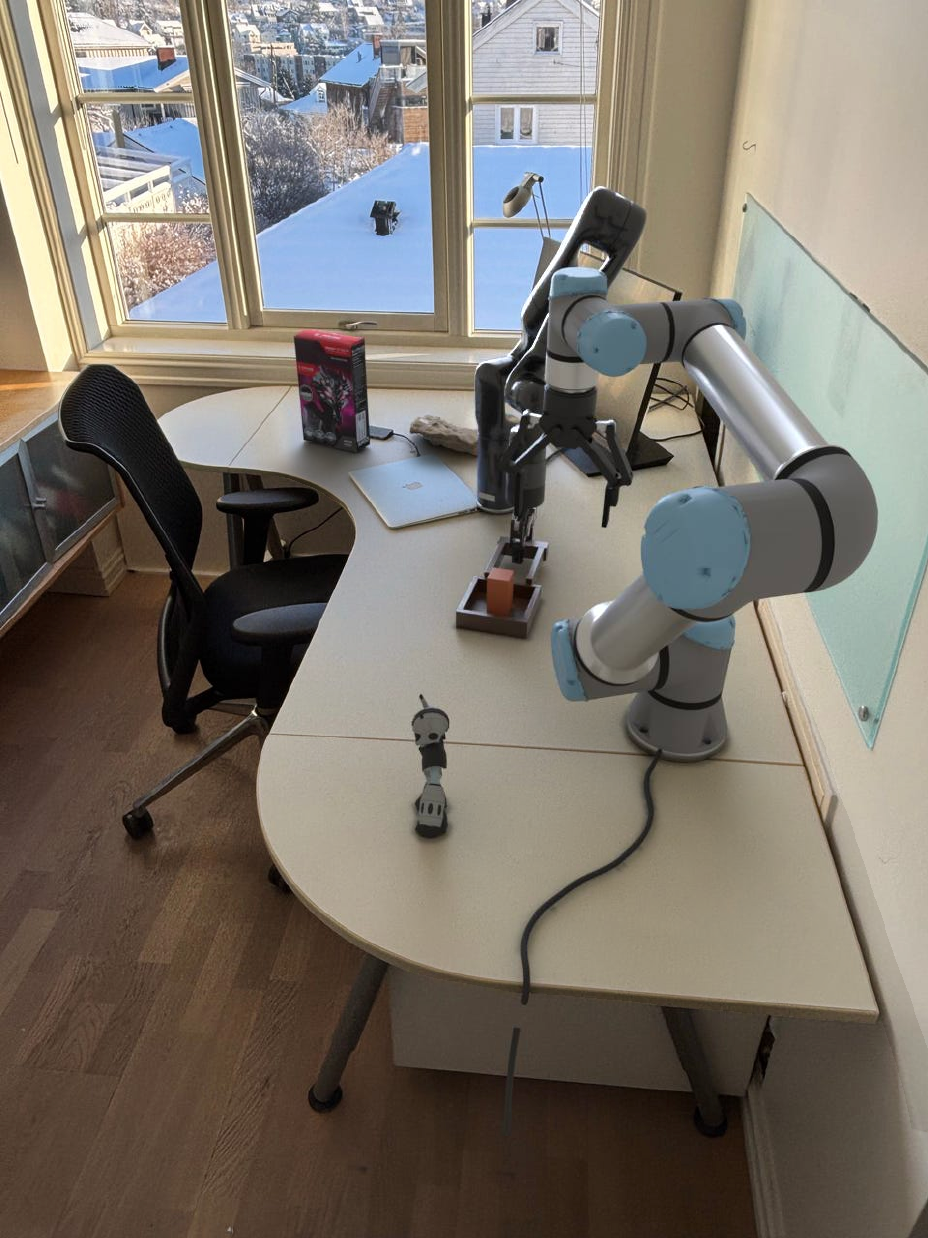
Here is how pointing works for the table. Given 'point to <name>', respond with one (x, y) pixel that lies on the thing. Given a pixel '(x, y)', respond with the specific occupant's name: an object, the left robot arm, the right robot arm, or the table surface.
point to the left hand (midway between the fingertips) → (522, 552)
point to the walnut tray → (524, 595)
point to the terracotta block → (500, 591)
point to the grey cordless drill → (431, 769)
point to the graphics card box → (333, 389)
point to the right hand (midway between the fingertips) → (561, 518)
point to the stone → (446, 434)
